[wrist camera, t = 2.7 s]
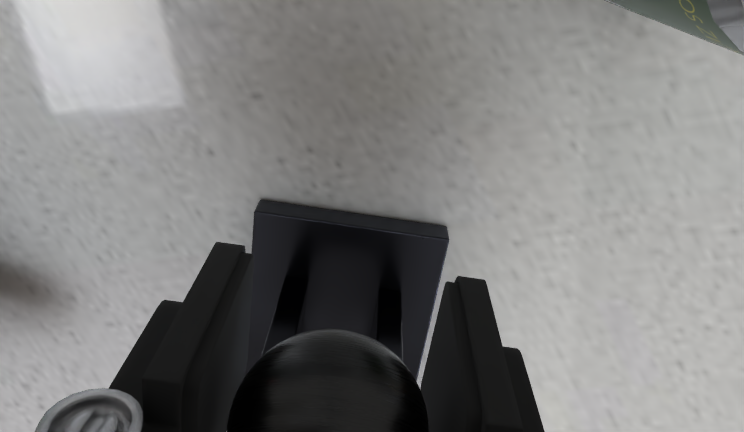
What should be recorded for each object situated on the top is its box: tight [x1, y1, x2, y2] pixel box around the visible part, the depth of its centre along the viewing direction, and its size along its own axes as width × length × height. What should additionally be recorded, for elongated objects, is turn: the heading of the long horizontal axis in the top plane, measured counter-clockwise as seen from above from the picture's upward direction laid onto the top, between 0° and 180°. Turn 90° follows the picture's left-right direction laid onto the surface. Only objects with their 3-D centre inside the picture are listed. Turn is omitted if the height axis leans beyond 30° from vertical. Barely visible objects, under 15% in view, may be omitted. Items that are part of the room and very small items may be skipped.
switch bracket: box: [244, 200, 449, 381], centre depth 22 cm, size 10×8×13 cm
